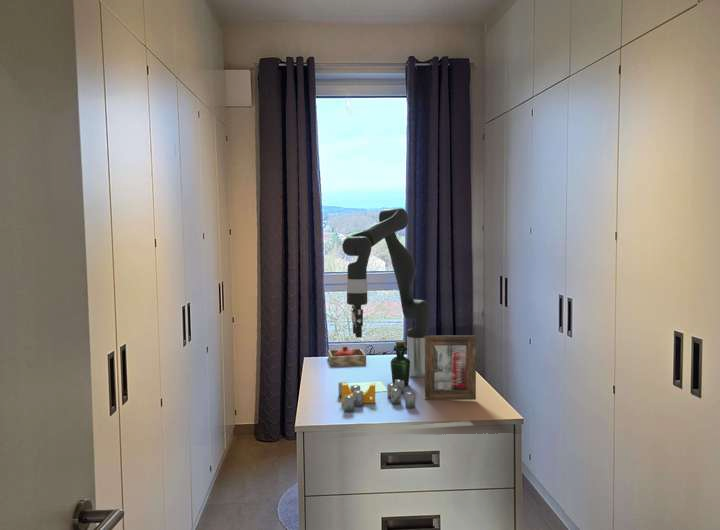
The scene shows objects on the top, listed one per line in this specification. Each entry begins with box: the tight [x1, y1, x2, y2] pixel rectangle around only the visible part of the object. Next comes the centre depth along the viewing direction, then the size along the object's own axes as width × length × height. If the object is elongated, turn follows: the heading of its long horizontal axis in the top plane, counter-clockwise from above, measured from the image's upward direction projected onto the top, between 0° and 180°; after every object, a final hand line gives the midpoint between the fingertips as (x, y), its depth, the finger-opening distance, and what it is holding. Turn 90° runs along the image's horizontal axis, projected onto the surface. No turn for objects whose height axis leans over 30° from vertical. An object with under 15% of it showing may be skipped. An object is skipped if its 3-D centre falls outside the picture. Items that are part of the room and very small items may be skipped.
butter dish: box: [336, 345, 355, 356], centre depth 250 cm, size 12×12×8 cm
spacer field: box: [337, 379, 416, 413], centre depth 190 cm, size 26×21×5 cm
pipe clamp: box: [341, 382, 376, 405], centre depth 188 cm, size 12×4×6 cm, turn 86°
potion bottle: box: [390, 339, 410, 388], centre depth 211 cm, size 8×8×18 cm
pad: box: [347, 381, 387, 393], centre depth 208 cm, size 16×14×1 cm
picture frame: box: [424, 335, 477, 401], centre depth 191 cm, size 19×2×24 cm, turn 87°
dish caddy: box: [327, 348, 367, 367], centre depth 250 cm, size 17×16×5 cm
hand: (357, 335), depth 189 cm, fingers open, 8 cm apart
